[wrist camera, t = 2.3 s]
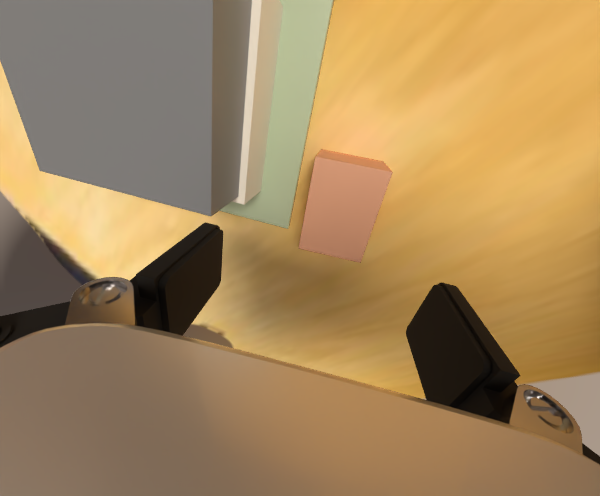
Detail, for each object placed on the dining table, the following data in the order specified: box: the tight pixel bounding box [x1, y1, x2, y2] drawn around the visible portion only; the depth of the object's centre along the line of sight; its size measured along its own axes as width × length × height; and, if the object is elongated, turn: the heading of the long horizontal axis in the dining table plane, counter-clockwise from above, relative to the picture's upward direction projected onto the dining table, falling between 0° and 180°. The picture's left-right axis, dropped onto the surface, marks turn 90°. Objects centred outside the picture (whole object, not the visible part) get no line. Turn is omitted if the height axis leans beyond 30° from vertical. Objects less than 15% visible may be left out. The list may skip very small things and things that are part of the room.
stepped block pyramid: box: [0, 0, 334, 229], centre depth 15 cm, size 18×18×9 cm
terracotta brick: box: [299, 149, 392, 263], centre depth 19 cm, size 5×7×4 cm
